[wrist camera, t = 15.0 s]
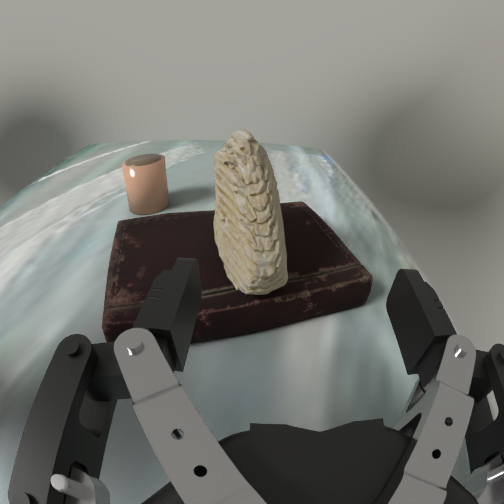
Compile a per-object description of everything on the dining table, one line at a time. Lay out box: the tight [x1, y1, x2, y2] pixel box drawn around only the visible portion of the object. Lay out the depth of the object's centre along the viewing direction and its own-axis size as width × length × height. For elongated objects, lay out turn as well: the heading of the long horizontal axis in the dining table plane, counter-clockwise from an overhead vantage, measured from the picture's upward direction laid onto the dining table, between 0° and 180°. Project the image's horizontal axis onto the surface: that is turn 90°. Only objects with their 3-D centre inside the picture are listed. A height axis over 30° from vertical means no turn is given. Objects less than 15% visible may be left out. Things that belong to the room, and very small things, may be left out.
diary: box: [102, 201, 373, 343], centre depth 31 cm, size 19×25×5 cm
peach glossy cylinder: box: [122, 154, 169, 215], centre depth 44 cm, size 7×7×8 cm
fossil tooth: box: [214, 130, 288, 295], centre depth 26 cm, size 12×6×15 cm
